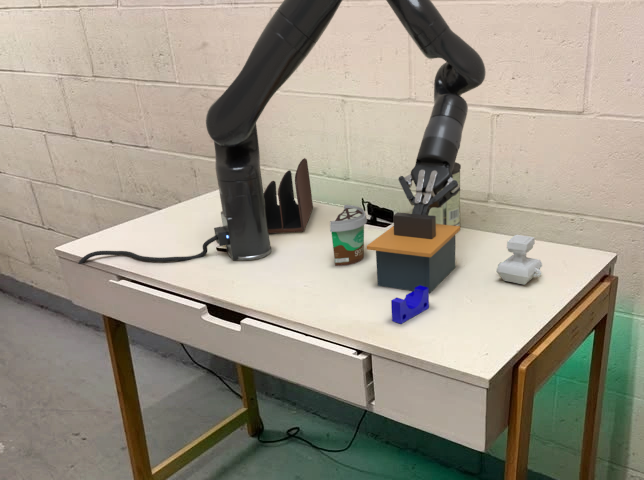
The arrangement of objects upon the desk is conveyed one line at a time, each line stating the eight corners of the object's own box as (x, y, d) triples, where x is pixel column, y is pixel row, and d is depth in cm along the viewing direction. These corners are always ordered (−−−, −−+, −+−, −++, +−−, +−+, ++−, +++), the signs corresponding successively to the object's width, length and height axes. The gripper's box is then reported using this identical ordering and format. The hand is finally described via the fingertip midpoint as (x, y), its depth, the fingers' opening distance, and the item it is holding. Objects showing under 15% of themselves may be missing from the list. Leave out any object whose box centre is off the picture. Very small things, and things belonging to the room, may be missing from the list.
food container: (362, 269, 144) (359, 222, 139) (333, 268, 145) (329, 222, 140) (374, 248, 154) (372, 204, 150) (347, 247, 156) (344, 203, 151)
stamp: (490, 282, 135) (491, 240, 131) (504, 270, 140) (506, 230, 136) (533, 290, 131) (536, 248, 127) (547, 278, 135) (550, 237, 131)
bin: (429, 293, 132) (429, 253, 128) (377, 285, 136) (375, 246, 132) (455, 267, 143) (455, 229, 139) (406, 261, 147) (405, 224, 143)
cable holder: (413, 303, 128) (413, 283, 126) (428, 308, 126) (428, 287, 124) (385, 318, 123) (384, 298, 121) (400, 324, 121) (400, 303, 119)
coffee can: (423, 217, 173) (423, 159, 166) (464, 219, 169) (465, 161, 163) (411, 230, 164) (410, 170, 157) (454, 233, 161) (454, 172, 154)
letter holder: (313, 208, 183) (308, 153, 177) (304, 232, 166) (298, 173, 159) (275, 209, 184) (269, 155, 177) (263, 234, 166) (255, 175, 160)
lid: (430, 257, 126) (430, 232, 124) (366, 249, 131) (365, 225, 129) (460, 230, 138) (460, 206, 136) (400, 223, 144) (400, 201, 141)
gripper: (403, 133, 138) (380, 211, 134) (467, 136, 132) (444, 218, 129) (414, 154, 144) (392, 229, 141) (475, 158, 139) (454, 236, 136)
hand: (417, 224), depth 135 cm, fingers closed
